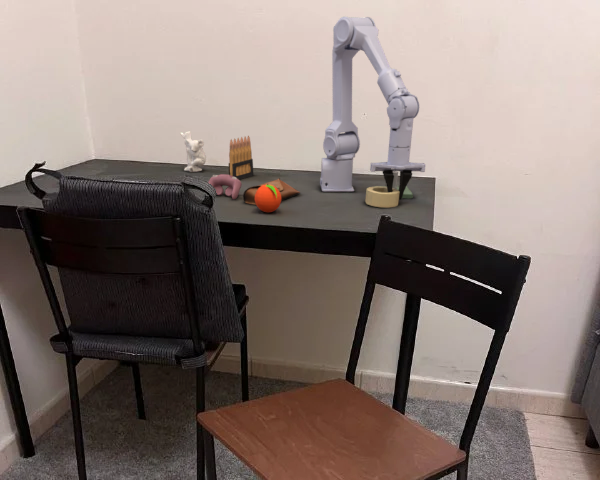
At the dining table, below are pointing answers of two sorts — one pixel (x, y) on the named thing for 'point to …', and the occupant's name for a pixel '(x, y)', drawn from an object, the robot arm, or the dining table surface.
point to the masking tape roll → (382, 197)
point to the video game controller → (226, 180)
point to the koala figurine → (194, 153)
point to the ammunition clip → (240, 158)
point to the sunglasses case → (284, 188)
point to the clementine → (268, 198)
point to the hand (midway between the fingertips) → (394, 198)
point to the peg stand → (406, 193)
